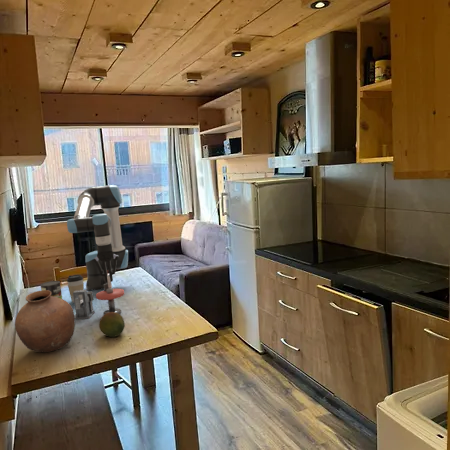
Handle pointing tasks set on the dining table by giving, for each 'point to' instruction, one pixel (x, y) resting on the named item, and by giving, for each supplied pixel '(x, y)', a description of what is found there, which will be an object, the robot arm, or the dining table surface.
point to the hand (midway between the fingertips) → (110, 287)
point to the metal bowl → (112, 307)
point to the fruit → (112, 324)
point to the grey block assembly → (86, 309)
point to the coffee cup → (75, 285)
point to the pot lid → (109, 293)
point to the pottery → (45, 322)
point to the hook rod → (80, 303)
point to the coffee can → (52, 288)
